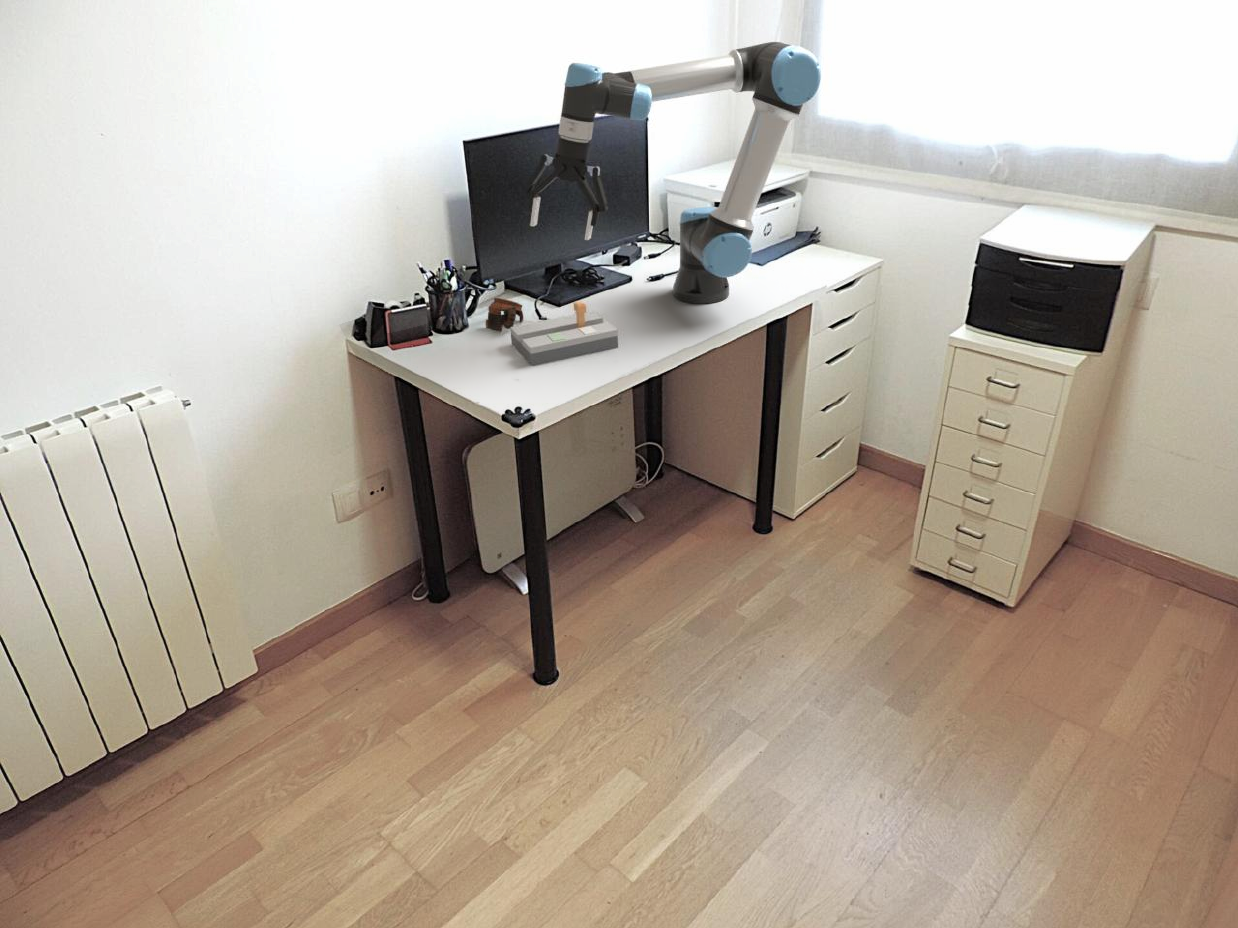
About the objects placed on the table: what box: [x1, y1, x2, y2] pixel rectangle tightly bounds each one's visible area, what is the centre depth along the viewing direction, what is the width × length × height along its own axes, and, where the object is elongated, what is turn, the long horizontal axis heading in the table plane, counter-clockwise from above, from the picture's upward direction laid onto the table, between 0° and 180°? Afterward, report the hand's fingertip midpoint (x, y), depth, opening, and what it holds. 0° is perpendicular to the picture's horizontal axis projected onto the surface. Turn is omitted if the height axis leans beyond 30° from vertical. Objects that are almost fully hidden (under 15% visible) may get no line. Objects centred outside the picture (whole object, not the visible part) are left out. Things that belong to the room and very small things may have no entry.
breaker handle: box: [573, 300, 587, 328], centre depth 213 cm, size 2×3×7 cm, turn 25°
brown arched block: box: [485, 297, 524, 333], centre depth 225 cm, size 12×10×8 cm
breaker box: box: [509, 310, 619, 367], centre depth 214 cm, size 22×14×5 cm, turn 115°
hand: (560, 232), depth 210 cm, fingers open, 13 cm apart
